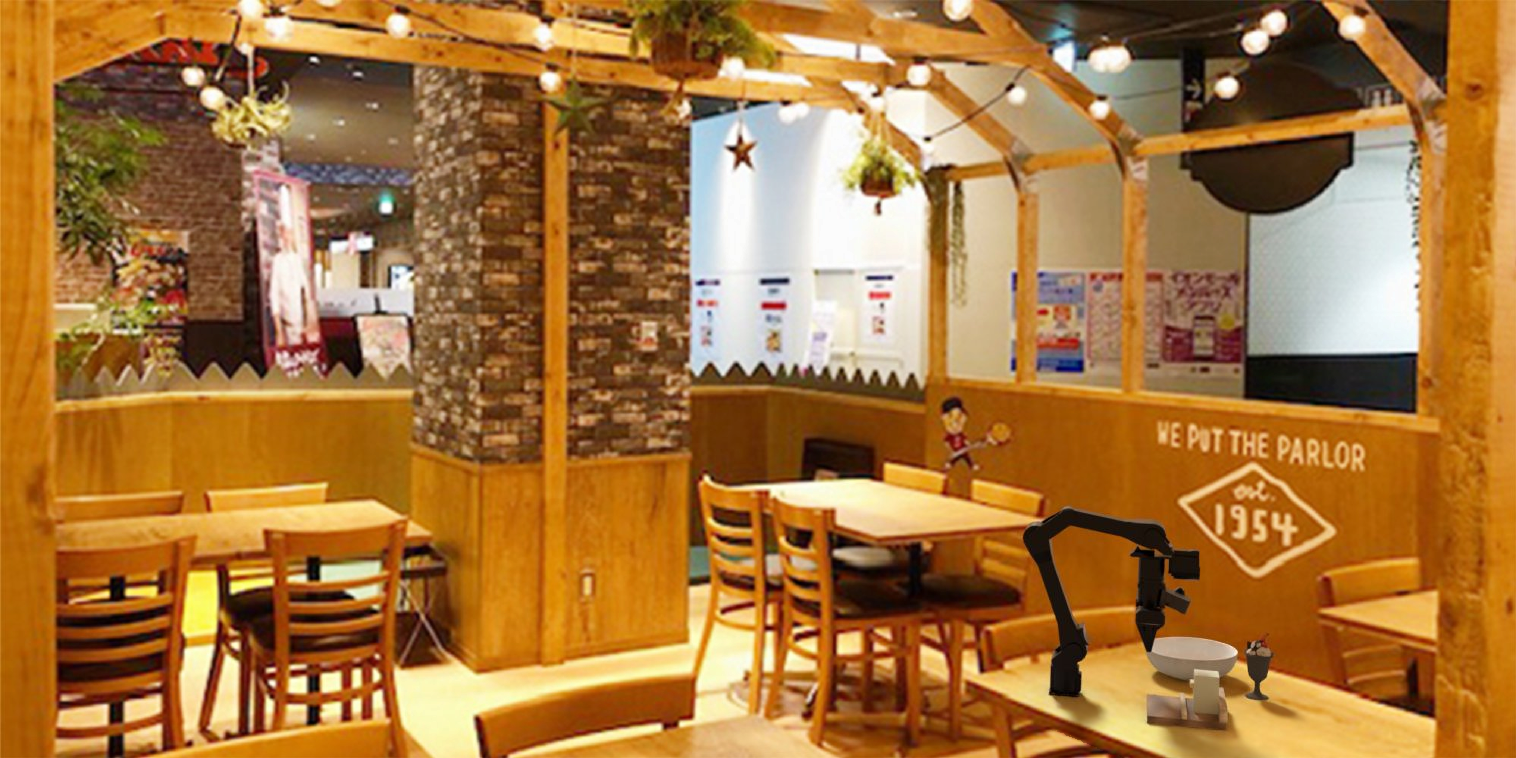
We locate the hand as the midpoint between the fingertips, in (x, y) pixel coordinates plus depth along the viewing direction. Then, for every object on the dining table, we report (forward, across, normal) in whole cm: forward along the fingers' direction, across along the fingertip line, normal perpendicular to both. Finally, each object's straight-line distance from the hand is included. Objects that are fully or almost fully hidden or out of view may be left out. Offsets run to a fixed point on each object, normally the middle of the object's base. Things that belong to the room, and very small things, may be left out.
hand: (1148, 646), depth 305 cm
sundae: (+12, +10, -24) cm, 29 cm away
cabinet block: (+10, -9, -12) cm, 18 cm away
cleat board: (+12, -9, -8) cm, 17 cm away
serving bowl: (+12, +23, -10) cm, 28 cm away
